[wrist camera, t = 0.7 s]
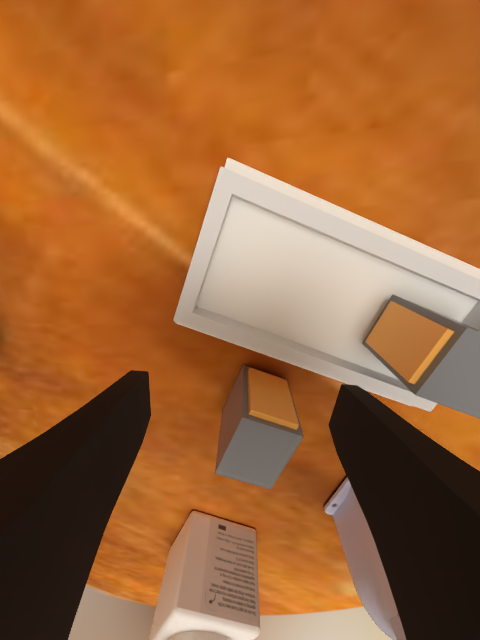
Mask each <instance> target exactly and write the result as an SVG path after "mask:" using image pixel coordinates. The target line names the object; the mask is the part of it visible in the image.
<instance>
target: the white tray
mask: <svg viewBox="0 0 480 640" xmlns="http://www.w3.org/2000/svg"><path fill="white" fill-rule="evenodd" d="M392 294H393V295H396V296H398V297H401V298H403V299H406V300H408V301H410V302H413V303H415V304H418V305H420V306H423V307H425V308H428V309H430V310H432V311H435V312H437V313H440V314H442V315H445V316H447V317H450V318H452V319H454V320H457V321H459V322H461V323H464V324H466V325H468V326H470V327H473V328H475V329H477V330H480V269H478V268H476V267H474V266H471V265H469V264H467V263H465V262H462V261H460V260H458V259H456V258H453V257H451V256H449V255H447V254H444V253H442V252H440V251H438V250H435V249H433V248H431V247H429V246H426V245H424V244H422V243H420V242H417V241H415V240H413V239H411V238H408V237H406V236H404V235H402V234H399V233H397V232H395V231H393V230H390V229H388V228H386V227H384V226H381V225H379V224H377V223H375V222H372V221H370V220H368V219H366V218H363V217H361V216H359V215H357V214H354V213H352V212H350V211H348V210H345V209H343V208H341V207H339V206H336V205H334V204H332V203H329V202H327V201H325V200H323V199H320V198H318V197H316V196H314V195H311V194H309V193H307V192H305V191H302V190H300V189H298V188H296V187H293V186H291V185H289V184H287V183H284V182H282V181H280V180H278V179H275V178H273V177H271V176H269V175H266V174H264V173H262V172H260V171H257V170H255V169H253V168H251V167H248V166H246V165H244V164H242V163H239V162H237V161H235V160H233V159H230V158H227V161H226V164H225V167H220V170H219V173H218V177H217V180H216V183H215V186H214V189H213V193H212V196H211V199H210V202H209V206H208V209H207V212H206V215H205V219H204V222H203V225H202V228H201V232H200V235H199V238H198V241H197V245H196V248H195V251H194V254H193V258H192V261H191V264H190V267H189V271H188V274H187V277H186V280H185V284H184V287H183V290H182V293H181V297H180V300H179V303H178V306H177V309H176V313H175V316H174V319H173V321H174V322H176V324H179V325H182V326H185V327H187V328H190V329H193V330H196V331H199V332H202V333H204V334H207V335H210V336H213V337H216V338H219V339H221V340H224V341H227V342H230V343H233V344H236V345H238V346H241V347H244V348H247V349H250V350H253V351H255V352H258V353H261V354H264V355H267V356H270V357H273V358H275V359H278V360H281V361H284V362H287V363H290V364H292V365H295V366H298V367H301V368H304V369H307V370H309V371H312V372H315V373H318V374H321V375H324V376H326V377H329V378H332V379H335V380H338V381H341V382H343V383H346V384H349V385H358V386H359V387H361V388H362V389H364V390H366V391H369V392H372V393H375V394H377V395H380V396H383V397H386V398H389V399H392V400H395V401H397V402H400V403H403V404H406V405H409V406H415V407H418V408H421V409H423V410H426V411H429V412H431V411H432V410H433V408H434V407H435V406H436V405H437V404H438V403H435V402H432V401H430V400H427V399H424V398H421V397H419V396H416V395H414V394H413V393H412V392H411V391H410V390H409V389H408V388H407V387H406V386H405V385H404V384H403V383H402V382H401V381H400V380H399V379H398V378H397V377H396V376H395V375H394V374H393V373H392V372H391V371H390V370H389V369H388V368H387V367H386V366H385V365H384V364H383V363H382V362H381V361H380V360H379V359H377V358H376V357H375V356H374V355H373V354H372V353H371V352H370V351H369V350H368V349H367V348H366V347H365V346H364V345H363V344H362V343H363V341H364V339H365V338H366V336H367V335H368V333H369V331H370V330H371V328H372V327H373V325H374V323H375V322H376V320H377V319H378V317H379V315H380V314H381V312H382V310H383V309H384V307H385V306H386V304H387V302H388V301H389V299H390V298H391V296H392Z"/></svg>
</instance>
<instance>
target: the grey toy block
mask: <svg viewBox="0 0 480 640" xmlns="http://www.w3.org/2000/svg"><path fill="white" fill-rule="evenodd" d="M362 344H363V345H364V346H365V347H366V348H367V349H368V350H369V351H370V352H371V353H372V354H373V355H374V356H375V357H376V358H377V359H379V360H380V361H381V362H382V363H383V364H384V365H385V366H386V367H387V368H388V369H389V370H390V371H391V372H392V373H393V374H394V375H395V376H396V377H397V378H398V379H399V380H400V381H401V382H402V383H403V384H404V385H405V386H406V387H407V388H408V389H409V390H410V391H411V392H412V393H413V394H414V395H416V396H419V397H421V398H424V399H427V400H430V401H432V402H435V403H438V404H441V405H444V406H446V407H449V408H452V409H455V410H458V411H460V412H463V413H466V414H469V415H471V416H474V417H477V418H480V330H477V329H475V328H473V327H470V326H468V325H466V324H464V323H461V322H459V321H457V320H454V319H452V318H450V317H447V316H445V315H442V314H440V313H437V312H435V311H432V310H430V309H428V308H425V307H423V306H420V305H418V304H415V303H413V302H410V301H408V300H406V299H403V298H401V297H398V296H396V295H393V294H392V296H391V298H390V299H389V301H388V302H387V304H386V306H385V307H384V309H383V310H382V312H381V314H380V315H379V317H378V319H377V320H376V322H375V323H374V325H373V327H372V328H371V330H370V331H369V333H368V335H367V336H366V338H365V339H364V341H363V343H362Z"/></svg>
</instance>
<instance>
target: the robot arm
mask: <svg viewBox="0 0 480 640" xmlns="http://www.w3.org/2000/svg"><path fill="white" fill-rule="evenodd" d="M150 416H151V408H150V391H149V374H148V372H146V371H130V372H128V373H127V374H126V375H124V376H123V377H122V378H120V379H119V380H118V381H116V382H115V383H114V384H112V385H111V386H110V387H108V388H107V389H106V390H104V391H103V392H102V393H100V394H99V395H98V396H96V397H95V398H94V399H92V400H91V401H90V402H88V403H87V404H85V405H84V406H83V407H81V408H80V409H78V410H77V411H76V412H74V413H73V414H71V415H70V416H68V417H67V418H65V419H64V420H62V421H61V422H59V423H58V424H56V425H55V426H53V427H52V428H50V429H49V430H47V431H46V432H44V433H43V434H41V435H40V436H38V437H36V438H35V439H33V440H32V441H30V442H28V443H27V444H25V445H23V446H22V447H20V448H18V449H17V450H15V451H13V452H12V453H10V454H8V455H6V456H5V457H3V458H1V459H0V640H68V637H69V634H70V631H71V628H72V625H73V621H74V618H75V615H76V612H77V609H78V606H79V603H80V600H81V597H82V594H83V591H84V589H85V586H86V583H87V580H88V577H89V574H90V571H91V568H92V565H93V562H94V559H95V556H96V553H97V551H98V548H99V545H100V542H101V539H102V536H103V533H104V531H105V528H106V526H107V523H108V521H109V518H110V516H111V513H112V511H113V509H114V506H115V504H116V502H117V499H118V497H119V495H120V493H121V490H122V488H123V486H124V484H125V481H126V479H127V477H128V475H129V472H130V470H131V468H132V466H133V463H134V461H135V459H136V456H137V454H138V452H139V449H140V447H141V445H142V442H143V439H144V436H145V433H146V430H147V427H148V423H149V420H150ZM329 428H330V431H331V435H332V439H333V442H334V445H335V448H336V451H337V454H338V456H339V459H340V461H341V463H342V466H343V468H344V470H345V473H346V475H347V478H346V479H345V480H344V482H343V483H342V484H341V486H340V487H339V488H338V490H337V491H336V492H335V493H334V495H333V496H332V497H331V499H330V500H329V501H328V503H327V504H326V505H325V507H324V510H325V513H326V514H329V515H333V518H334V521H335V525H336V528H337V531H338V534H339V538H340V541H341V544H342V547H343V550H344V554H345V557H346V560H347V563H348V567H349V570H350V573H351V576H352V580H353V583H354V586H355V588H356V591H357V594H358V596H359V598H360V600H361V602H362V604H363V606H364V607H365V609H366V611H367V612H368V614H369V615H370V617H371V618H372V620H373V621H374V622H375V624H376V625H377V626H378V627H379V628H380V629H381V630H382V631H383V632H384V633H385V634H386V635H388V636H389V637H390V638H392V639H393V640H480V471H478V470H477V469H475V468H473V467H472V466H470V465H469V464H467V463H466V462H464V461H463V460H461V459H460V458H458V457H456V456H455V455H454V454H452V453H451V452H449V451H448V450H446V449H445V448H443V447H442V446H440V445H439V444H438V443H436V442H435V441H433V440H432V439H430V438H429V437H427V436H426V435H425V434H423V433H422V432H420V431H419V430H418V429H416V428H415V427H414V426H412V425H411V424H410V423H408V422H407V421H406V420H404V419H403V418H401V417H400V416H399V415H397V414H396V413H395V412H393V411H392V410H391V409H390V408H388V407H387V406H386V405H384V404H383V403H382V402H380V401H379V400H378V399H376V398H375V397H373V396H372V395H371V394H369V393H368V392H367V391H365V390H364V389H362V388H361V387H359V386H358V385H345V384H342V385H341V388H340V391H339V394H338V397H337V400H336V404H335V407H334V410H333V413H332V416H331V419H330V422H329Z"/></svg>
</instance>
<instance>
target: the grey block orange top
mask: <svg viewBox="0 0 480 640" xmlns="http://www.w3.org/2000/svg"><path fill="white" fill-rule="evenodd" d="M303 437H304V436H303V433H302V429H301V426H300V423H299V419H298V416H297V412H296V409H295V405H294V402H293V398H292V395H291V391H290V388H289V384H288V381H287V380H286V379H283V378H280V377H277V376H274V375H271V374H268V373H265V372H263V371H260V370H257V369H254V368H251V367H248V366H245V365H242V368H241V370H240V372H239V374H238V377H237V379H236V381H235V383H234V386H233V388H232V390H231V392H230V394H229V397H228V399H227V401H226V403H225V406H224V408H223V410H222V418H221V426H220V435H219V443H218V452H217V460H216V469H215V474H218V475H222V476H225V477H229V478H232V479H236V480H239V481H243V482H246V483H250V484H253V485H257V486H260V487H264V488H267V489H271V488H272V487H273V485H274V483H275V482H276V480H277V479H278V477H279V475H280V474H281V472H282V471H283V469H284V467H285V466H286V464H287V463H288V461H289V459H290V458H291V456H292V455H293V453H294V451H295V450H296V448H297V447H298V445H299V443H300V442H301V440H302V439H303Z"/></svg>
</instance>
